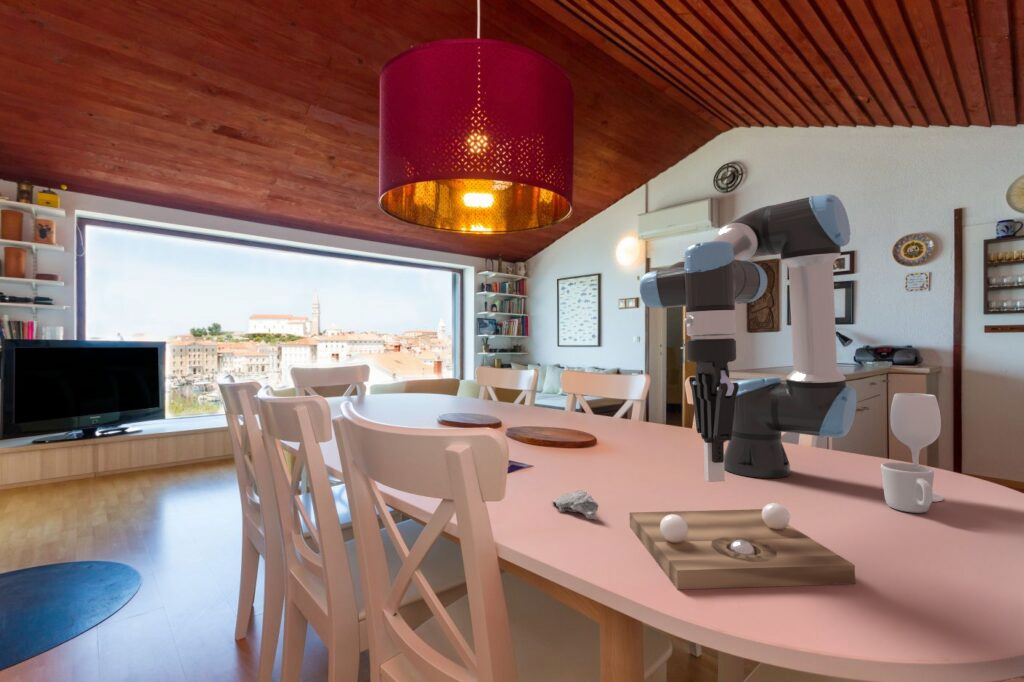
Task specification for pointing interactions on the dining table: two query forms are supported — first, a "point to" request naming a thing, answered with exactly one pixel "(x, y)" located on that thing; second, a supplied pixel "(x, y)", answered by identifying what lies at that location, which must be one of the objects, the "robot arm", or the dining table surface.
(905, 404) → the wineglass
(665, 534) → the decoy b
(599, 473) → the dining table surface
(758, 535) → the board
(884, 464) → the cup
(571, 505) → the stone
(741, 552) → the steel ball
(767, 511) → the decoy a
